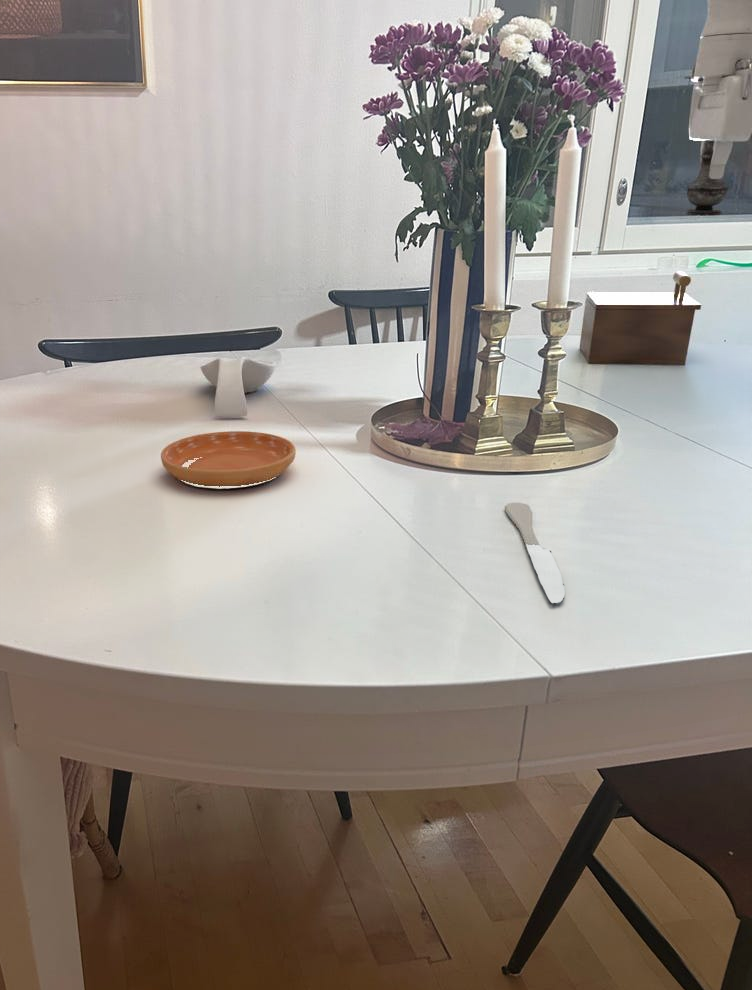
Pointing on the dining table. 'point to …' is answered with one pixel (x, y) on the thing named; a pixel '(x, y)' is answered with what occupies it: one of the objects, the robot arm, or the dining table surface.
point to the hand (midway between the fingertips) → (710, 177)
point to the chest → (635, 336)
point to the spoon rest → (235, 382)
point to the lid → (647, 298)
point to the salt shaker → (706, 188)
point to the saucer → (229, 458)
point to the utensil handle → (522, 521)
